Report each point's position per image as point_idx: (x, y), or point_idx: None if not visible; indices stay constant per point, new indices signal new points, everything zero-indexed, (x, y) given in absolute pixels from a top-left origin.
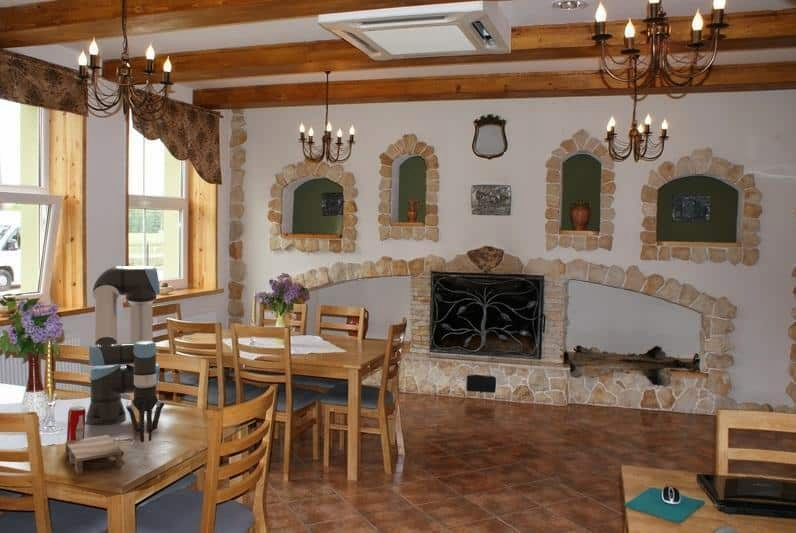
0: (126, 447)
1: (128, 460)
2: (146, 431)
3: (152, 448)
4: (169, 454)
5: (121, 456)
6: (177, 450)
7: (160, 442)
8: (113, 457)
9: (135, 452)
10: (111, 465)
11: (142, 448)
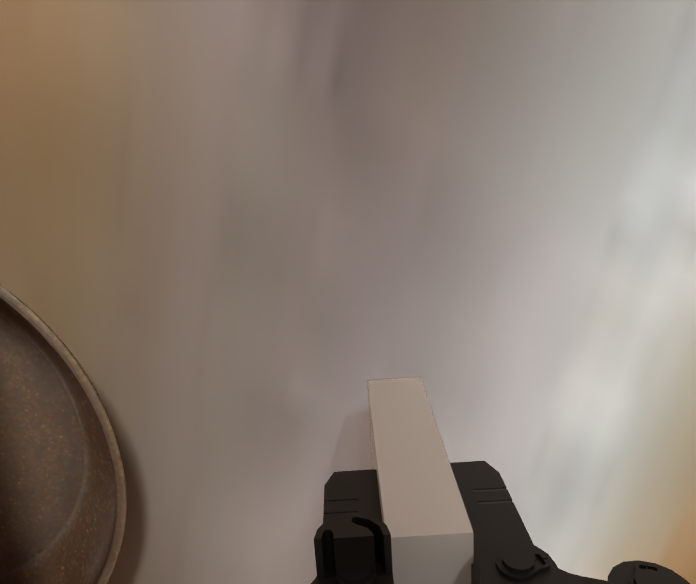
0: (220, 32)
1: (191, 507)
2: (463, 558)
3: (512, 239)
4: (609, 515)
5: (108, 486)
6: None
7: (678, 35)
8: (37, 376)
9: (297, 292)
10: (19, 569)
11: (368, 387)
